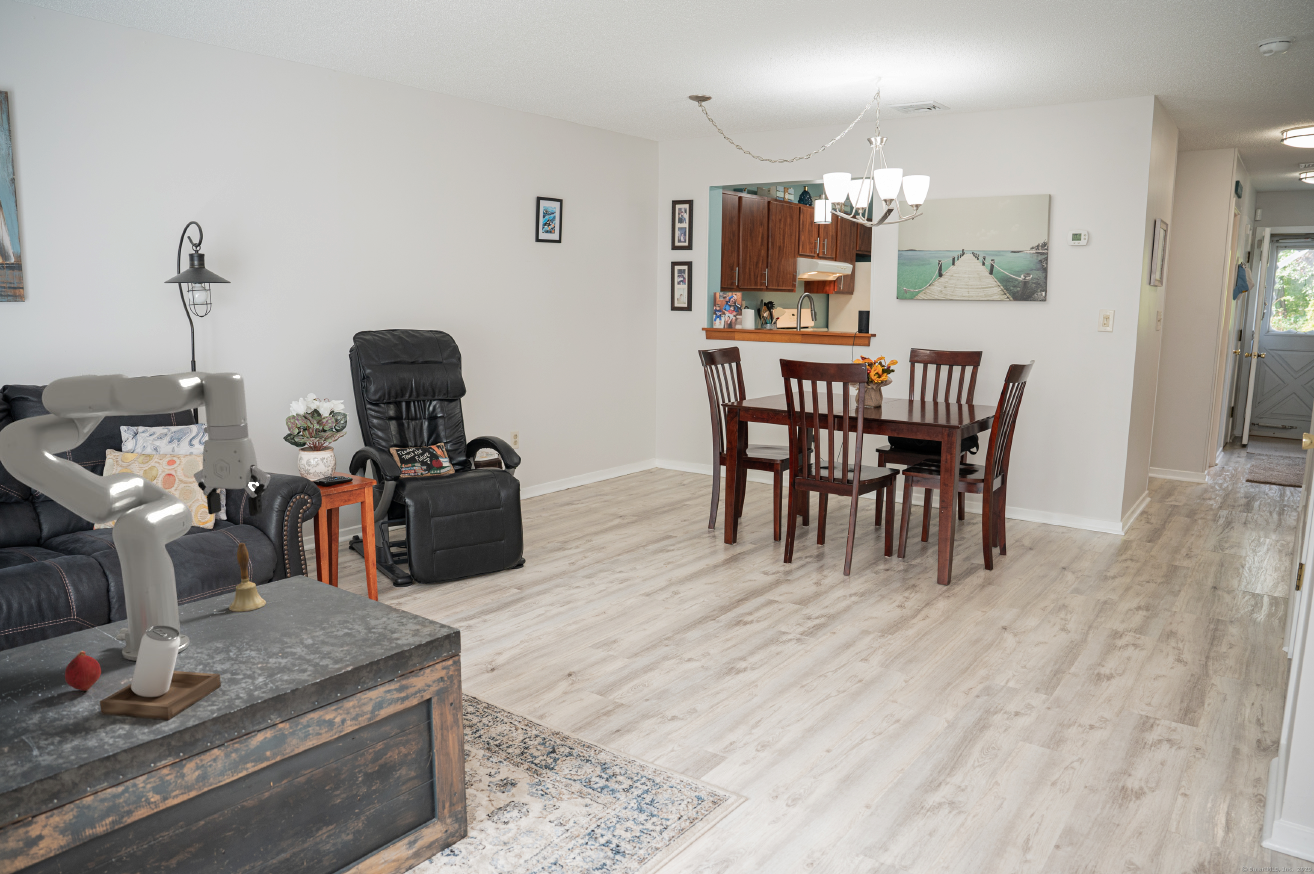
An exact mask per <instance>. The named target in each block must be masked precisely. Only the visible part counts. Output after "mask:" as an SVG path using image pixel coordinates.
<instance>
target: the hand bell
mask: <svg viewBox="0 0 1314 874" xmlns="http://www.w3.org/2000/svg"><path fill="white" fill-rule="evenodd" d="M249 559H250V557H249V551H248V548H247V546H246V543H245V542H239V543H238V547H237V551H236V560H237V562H238V565H239V568H240V569H239V570H240V580H241V581H240V583H239V584H237V585H236V586H235V595H234V599H233V601H232V603H231V604H230V605H229V607H228V609H229V611H231V612H236V613H242V612H243V613H245V612H250V611H255V610H258V609H262V608H263V607H265V605H266V604H267V602H266V600H265V599H263V598H262V597H261V595H260V594H259V592H258V590H257V585H256V583H255V582H251V581H250V578H249V570H248V568H249V567H248V566H249V561H250V560H249Z"/></svg>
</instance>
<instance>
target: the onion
mask: <svg viewBox="0 0 1314 874" xmlns="http://www.w3.org/2000/svg"><path fill="white" fill-rule="evenodd" d="M101 674H102V668H101V664H100V663H99V662H98V660H96V658H94V657H92V656H90V655H87V654H86V651H84V650H81V651H80V652H79V653H78V654H76V656H75V657H74V658H73V659H71V660H70V662H69V663H68V664H67V666H66V667H65V672H64V679H65V682H66V684H67V685H68V686H69V687H71V688H73V689H75V690H79V691H81V692H86V691H89V690H90V689H91V688H92V686H94V684H96V683H97V681H99V679H100V677H101Z"/></svg>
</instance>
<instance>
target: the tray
mask: <svg viewBox="0 0 1314 874" xmlns="http://www.w3.org/2000/svg"><path fill="white" fill-rule="evenodd" d="M131 684H132V683H130V684H129V685H126V686H124V687H122V688H121V689H119V690H117V691H116V692H113V693H112V694H110V695H108V696H107V697H105V698H103V699H102V700H100V701H99V704H100V706H99V707H100V714H101V715H104V716H105V715H106V716H107V715H109V716H118V717H131V718H139V719H140V718H142V719H154V720H164V721H169V720H171V719H173V718H175V717H176V716H178V715H180V714H181V713H182V712H184V711H185V710H187V709H188V708H190V707H191V706H193V705H195V704H197V702H199V701H201V700H202V699H203V698H205V697H207V696H209V695H210V694H212V693H213V692H214V691H216V690H217V689H219V688H221V687H222V684H221V674H220V673H219V674H218V673H206V672H195V671H183V670H181V671H180V670H174V671H173V676H172V680H171V684H170V688H169V690H168V691H167V692H166V693H165V694H163V695H161V696H159V697H152V698H148V697H142V696H139V695H137V694H135V693H134V692H133V691H132V689H131Z"/></svg>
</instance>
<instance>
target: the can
mask: <svg viewBox="0 0 1314 874" xmlns="http://www.w3.org/2000/svg"><path fill="white" fill-rule="evenodd" d="M180 633H181V632H180ZM180 633H179V631H178V630H177V629H175V628H173V627H170V626H164V625H158V626H152V627H150V628H148V629H147V630H146V633H145V635H144V636H143V637H142V640H141V644H140V648H139V652H138V657H137V661H136V662H135V666H134V671H133V675H132V680H131V683H130V684H131V689H132V691H133V692H134V693H135V694H137V695H139V696H142V697H148V698H152V697H159V696H161V695H163V694H165V693H166V692H167V691H168V690H169V688H170V684H171V680H172V676H173V671H175V667H176V662H177V658H178V654H179V653H178V650H179V645H180V638H179V635H180Z"/></svg>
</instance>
